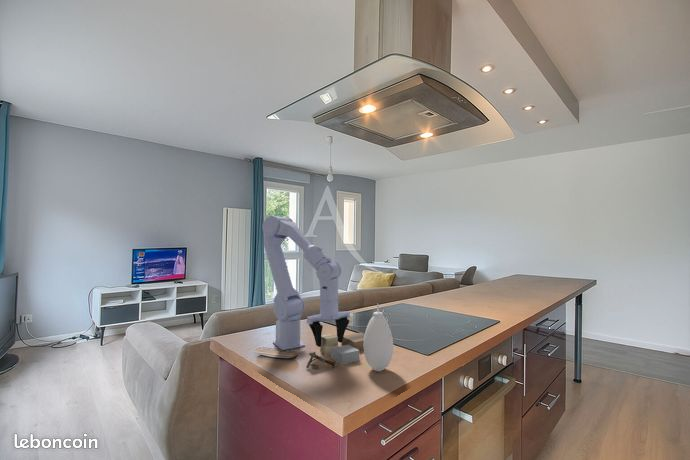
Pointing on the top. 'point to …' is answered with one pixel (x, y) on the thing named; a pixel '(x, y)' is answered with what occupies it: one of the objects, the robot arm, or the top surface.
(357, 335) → the tan square slab
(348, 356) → the slate grey block
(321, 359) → the toy blunderbuss
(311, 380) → the top surface
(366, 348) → the sauce bottle
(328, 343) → the maple block
